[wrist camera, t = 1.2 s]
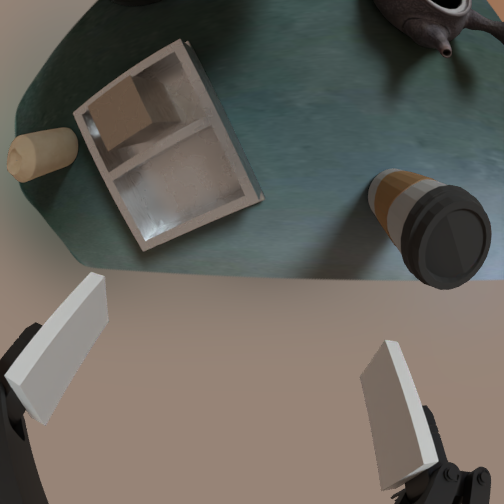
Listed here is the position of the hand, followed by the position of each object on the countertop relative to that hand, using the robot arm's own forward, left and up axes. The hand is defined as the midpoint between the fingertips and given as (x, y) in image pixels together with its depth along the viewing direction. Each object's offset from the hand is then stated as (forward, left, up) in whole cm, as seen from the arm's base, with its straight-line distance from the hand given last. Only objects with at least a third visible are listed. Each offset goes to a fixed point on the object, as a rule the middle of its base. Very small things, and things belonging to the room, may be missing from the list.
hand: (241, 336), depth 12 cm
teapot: (-14, +29, -23) cm, 40 cm away
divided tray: (-10, -7, -22) cm, 25 cm away
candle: (-18, -21, -23) cm, 36 cm away
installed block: (-14, -7, -21) cm, 27 cm away
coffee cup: (+5, +14, -23) cm, 27 cm away
